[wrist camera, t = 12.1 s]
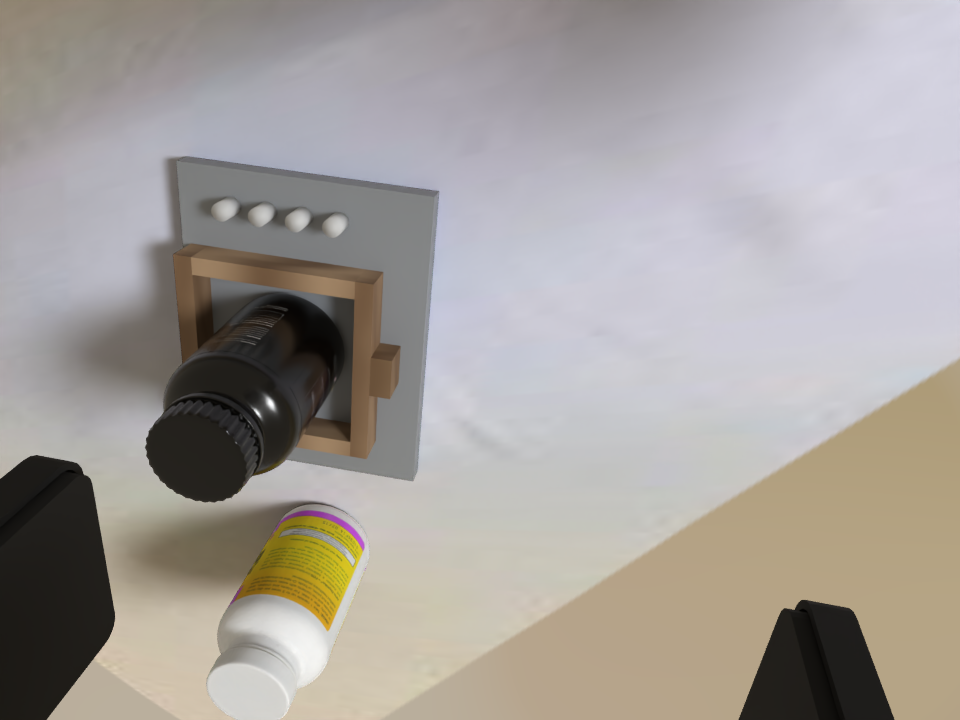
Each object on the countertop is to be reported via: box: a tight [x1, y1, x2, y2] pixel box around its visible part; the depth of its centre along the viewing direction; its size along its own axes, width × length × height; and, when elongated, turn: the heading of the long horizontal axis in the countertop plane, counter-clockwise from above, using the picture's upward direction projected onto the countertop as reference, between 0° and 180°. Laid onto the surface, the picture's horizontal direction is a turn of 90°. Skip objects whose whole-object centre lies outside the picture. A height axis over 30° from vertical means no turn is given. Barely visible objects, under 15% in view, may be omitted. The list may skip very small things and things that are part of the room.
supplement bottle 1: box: [145, 293, 345, 502], centre depth 39 cm, size 7×7×12 cm
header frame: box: [173, 243, 401, 459], centre depth 43 cm, size 12×11×2 cm
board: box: [176, 157, 439, 481], centre depth 43 cm, size 14×18×3 cm
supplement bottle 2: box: [206, 504, 370, 720], centre depth 46 cm, size 7×7×13 cm
